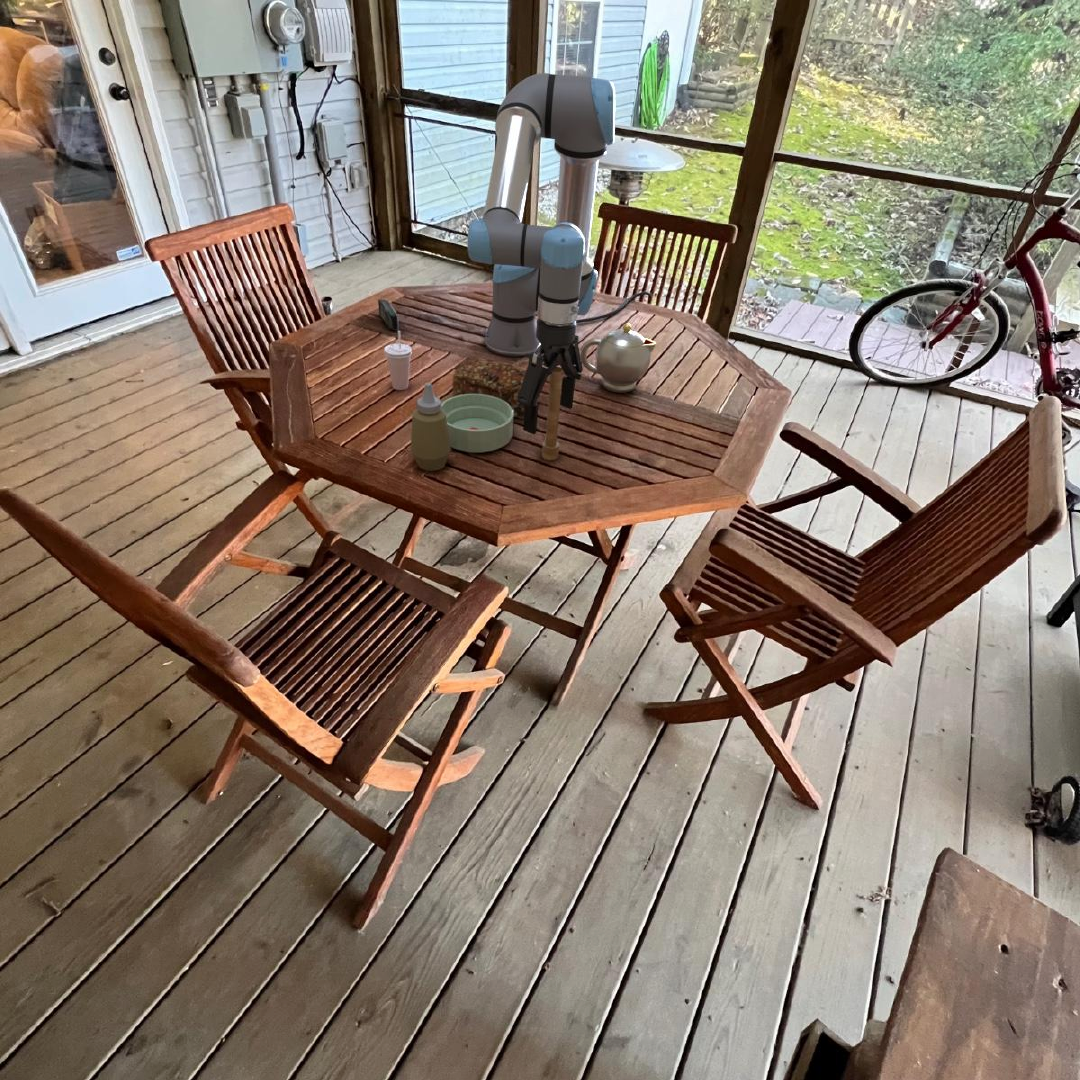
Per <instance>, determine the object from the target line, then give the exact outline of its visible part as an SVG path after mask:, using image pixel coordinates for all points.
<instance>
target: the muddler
mask: <svg viewBox="0 0 1080 1080" xmlns="http://www.w3.org/2000/svg"><path fill="white" fill-rule="evenodd" d="M563 373H564V372H563V369H562V368H561V366H557V367H556V368H555V369H554V370H553V372H552V374H551V375H549V384H548V400H547V416H546V426H545V427H546V429H545V439H544V440H543V441H542V444H541V445H542V446H541V457H542V458H543V459H544V460H547V461H556V460H557V459H558V458H559V454H560V442H559V441H558V433H559V432H558V431H559V420H560V409H561V408H560V407H561V406H560V399H561V388H562V378H563Z"/></svg>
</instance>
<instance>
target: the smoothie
mask: <svg viewBox="0 0 1080 1080" xmlns="http://www.w3.org/2000/svg"><path fill="white" fill-rule="evenodd" d="M400 331H401V330H400ZM400 331H397V339H398V343H391V344H389V345H386V346H385V347H384V348H383V350H384V355H385V356H386V357H385V358H386V362H387V366H388V371H389V375H390V380H391V386H392V388H393V389H394V390H396V391H405V390H408V388H409V381H410V368H411V355H413V354H412V353H413V352H412V351H413V349H412V347H411V346H410V345H407V344H406V343H402V337H401V336H402V335H401V333H400Z"/></svg>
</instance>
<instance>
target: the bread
mask: <svg viewBox="0 0 1080 1080" xmlns="http://www.w3.org/2000/svg"><path fill="white" fill-rule="evenodd" d="M526 370H527V368H524V367H521V366H519V365H516V364H512V363H508V362H503V361H499V360H493V359H484V358H480V357H478V356H474V357H467V358H465V359H463V360H461V361H460V362H459V363H458V364H457V365H456V366H455V367H454V372H453V376H452V383H451V386H452V397H454V396H458V395H463V394H485V395H490V396H494V397H497V398H499V399H502V400H504V401H505V402H506V403H508V404H509V405H510V406H511V408H512V409H513V417H515V418H518V419H520V420H522V419H523V420H524V405H522V404H520V403H518V402H517V399H518V396H519V393H520V390H521V386H522V383H523V380H524V377H525V374H526ZM536 403H537V404H538V401H537V402H536Z"/></svg>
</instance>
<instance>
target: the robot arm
mask: <svg viewBox="0 0 1080 1080" xmlns="http://www.w3.org/2000/svg"><path fill="white" fill-rule="evenodd" d="M615 126H616V89H615V85H614V83H613V82H612V81H611V80H609V79H605V78H604V79H603V78H599V77H598V78H597V77H595V76H582V75H570V74H569V75H568V74H554V73H549V72H540V73H535V74H533V75H530V76H527V77H526V78H524V79H523V80H521V81H520V82H518V83H517V84H516V85H515V86H513V88H511V90H510V91H509V92H508V93H507V95H505V97H504V99H503V100H502V102H501V104H500V105H499V108H498V109H497V114H496V118H495V124H494V130H495V134H496V136H497V139H496V144H495V149H494V157H493V161H492V166H491V172H490V177H489V184H488V188H487V193H486V199H485V203H484V204H485V205H484V209H483V216H482V218H479V219H472V220H471V221H470V223H469V225H468V229H467V240H466V241H467V246H466V247H467V255H468V257H469V259H470V260H471V261H473V262H477V263H481V264H487V265H494V266H493V274H492V279H491V282H492V306H491V307H492V310H491V312H492V313H491V318H490V321H489V324H488V327H487V328H486V329H485V330H484V332H483V337H484V346H485V348H486V349H487V350H488V351H490V352H491V353H493V354H496V355H500V356H502V357H503V356H504V357H510V358H512V357H513V358H521V357H527V356H528V364H527V368H526V374H525V377H524V380H523V383H522V386H521V390H520V393H519V396H518V399H517V402H518V403H520V404H522V405H524V419H523V427H522V428H523V429H522V431H525V432H527V433H529V434H532V435H536V434H537V429H538V416H539V415H538V414H539V403H538V400H539V397H540V395H541V394H542V391H543V389H544V386H545V384H546V382H547V380H548V377H550V375H551V374H552V372H553V370H554V369H555V368H556V367H560V368H562V369H563V372H562V373H564V376H562V384H561V397H560V407H563V408H566V409H569V410H571V409H573V405H574V397H575V389H576V388H575V387H576V380H577V381H579V380H581V377H582V372H583V371H584V370H583V369H584V368H583V367H584V366H583V363H582V361H581V355H580V353H581V351H580V348H579V335H577V334H576V333H577V326H578V325H577V324H582V323H587V322H594V321H599V320H601V319H605V318H608V317H611V316H613V315H615V314H617V313H619V312H620V311H621V310H623V309H624V308H625V307H626V306H627V305H628V303H629V302H630V301H632V300H634V299H636V298H638V297H641V296H647V297H648V298H652V297H653V296H652V294H651V293H650V292H648V291H640V292H638V293H636V294H633V295H631V296H629V297H627V298H626V299H625V301H624V302H623V303H622V304H621V305H620V306H618V308H617V307H616V308H615V309H614V310H612V311H610V312H608V313H605V314H602V315H598V316H593V317H587V318H581V319H578V316H586V315H587V314H588V313H589V312H590V309H591V307H592V304H593V300H594V297H595V291H596V287H597V286H596V285H597V281H598V271H597V270H596V269H595V268H594V262H593V261H592V259H591V258H590V257H589V251H590V250H589V249H590V241H591V233H592V232H591V231H592V224H593V223H592V222H593V214H594V207H595V206H594V205H595V196H596V189H597V188H596V187H597V179H598V169H599V160H600V159H601V158H602V157H604V156H605V155H606V154H607V150H608V146H611V145H614V143H615V136H616V135H615V133H616V132H615V129H616V127H615ZM540 139H551V140H554V144H553V145H554V146H553V148H554V151H555V152H556V153H557V154H558V155H559V169H558V170H559V171H558V187H557V200H556V202H557V203H556V204H557V205H556V215H555V224H554V226H548V225H536V224H528V223H526V224H525V223H523V220H524V219H523V217H524V213H525V207H526V199H527V192H528V186H529V179H530V173H531V167H532V160H533V153H534V148H535V146H536V145H537V144H538V142H539V141H540ZM536 316H537V319H536ZM536 402H537V403H536Z"/></svg>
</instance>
